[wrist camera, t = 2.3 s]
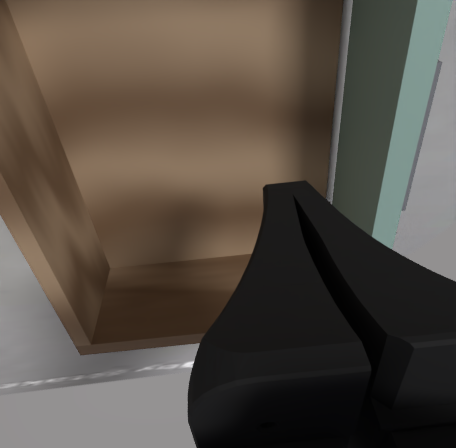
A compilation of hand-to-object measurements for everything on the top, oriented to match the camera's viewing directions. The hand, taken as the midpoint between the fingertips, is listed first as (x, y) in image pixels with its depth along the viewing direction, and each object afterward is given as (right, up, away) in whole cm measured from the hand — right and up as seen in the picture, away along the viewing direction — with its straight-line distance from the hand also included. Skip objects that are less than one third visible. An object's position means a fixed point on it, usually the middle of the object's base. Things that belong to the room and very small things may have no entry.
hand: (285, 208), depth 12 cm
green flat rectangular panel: (+4, +5, +6) cm, 9 cm away
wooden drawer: (-4, +6, +7) cm, 10 cm away
